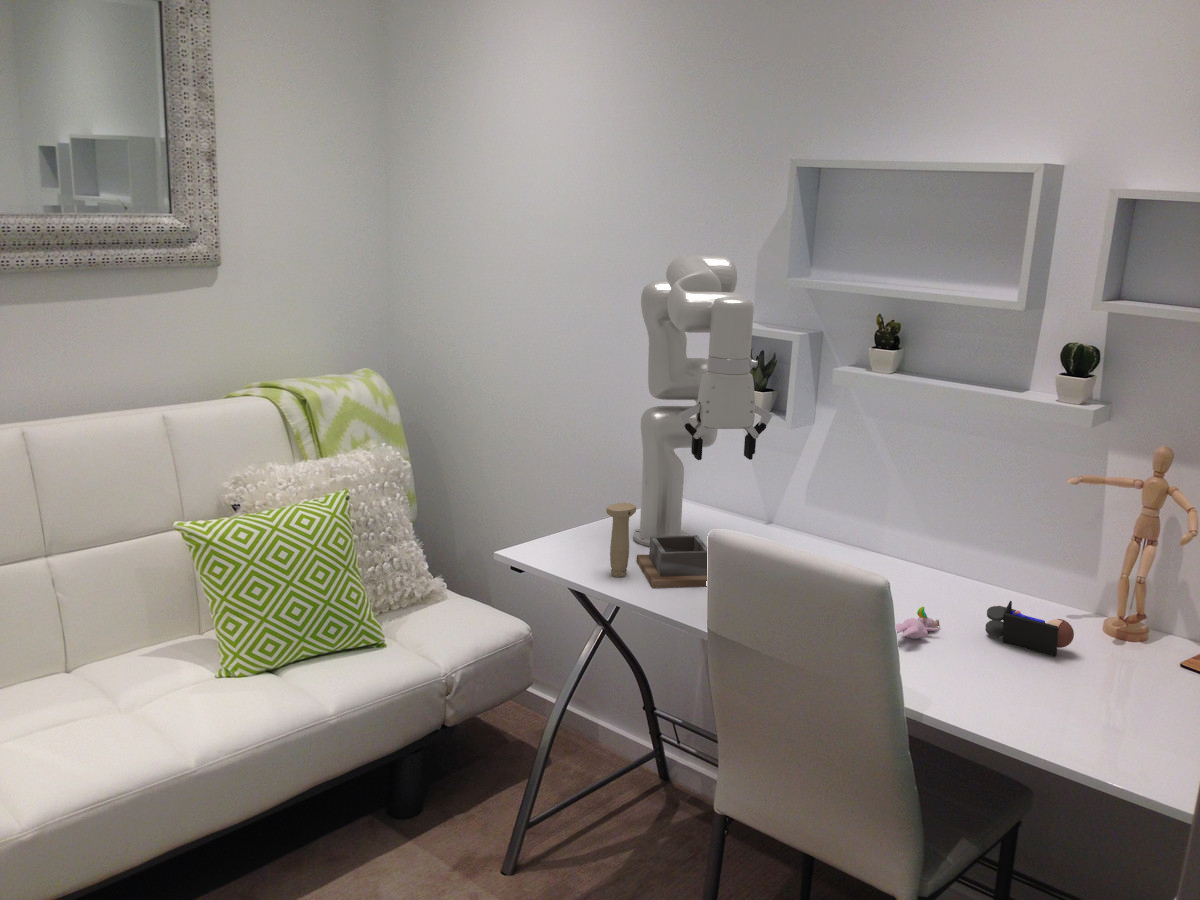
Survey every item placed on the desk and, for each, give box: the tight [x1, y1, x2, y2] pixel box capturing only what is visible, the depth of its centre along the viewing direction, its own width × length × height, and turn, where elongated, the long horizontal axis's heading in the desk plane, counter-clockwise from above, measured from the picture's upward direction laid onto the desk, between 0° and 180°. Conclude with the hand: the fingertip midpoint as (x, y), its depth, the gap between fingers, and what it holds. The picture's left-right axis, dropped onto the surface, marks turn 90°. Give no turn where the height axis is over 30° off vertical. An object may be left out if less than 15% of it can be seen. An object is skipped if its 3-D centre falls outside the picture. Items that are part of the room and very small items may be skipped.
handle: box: [606, 502, 637, 578], centre depth 217 cm, size 5×6×15 cm
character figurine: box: [985, 600, 1075, 658], centre depth 189 cm, size 8×7×15 cm
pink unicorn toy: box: [895, 606, 941, 640], centre depth 192 cm, size 6×6×15 cm
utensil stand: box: [635, 535, 708, 589], centre depth 220 cm, size 16×15×6 cm
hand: (722, 458), depth 192 cm, fingers open, 9 cm apart
